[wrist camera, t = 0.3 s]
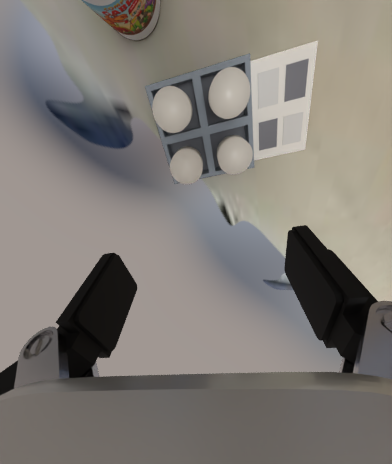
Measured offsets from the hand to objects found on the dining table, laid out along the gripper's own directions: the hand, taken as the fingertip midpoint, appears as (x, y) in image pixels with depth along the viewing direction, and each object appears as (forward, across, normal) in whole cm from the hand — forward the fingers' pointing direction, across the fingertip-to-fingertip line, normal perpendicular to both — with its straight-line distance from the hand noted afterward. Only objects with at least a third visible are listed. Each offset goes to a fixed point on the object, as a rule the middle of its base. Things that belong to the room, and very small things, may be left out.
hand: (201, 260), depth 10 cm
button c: (+25, +3, 0) cm, 25 cm away
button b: (+25, -5, -8) cm, 27 cm away
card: (+29, -14, -4) cm, 32 cm away
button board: (+29, -1, -4) cm, 29 cm away
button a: (+25, +3, -8) cm, 26 cm away
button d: (+25, -5, 0) cm, 26 cm away
